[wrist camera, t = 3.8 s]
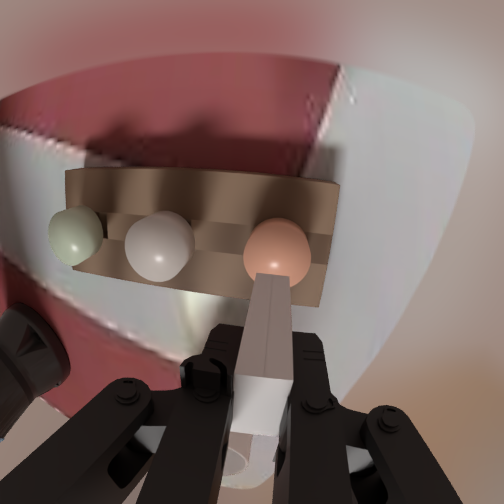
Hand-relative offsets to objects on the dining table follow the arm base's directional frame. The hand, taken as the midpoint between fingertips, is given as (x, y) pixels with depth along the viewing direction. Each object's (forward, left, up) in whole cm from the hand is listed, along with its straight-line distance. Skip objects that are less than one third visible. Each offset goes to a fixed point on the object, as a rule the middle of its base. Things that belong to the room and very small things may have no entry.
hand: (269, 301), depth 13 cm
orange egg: (0, 0, -10) cm, 10 cm away
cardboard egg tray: (-8, 0, -12) cm, 14 cm away
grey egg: (-8, 0, -9) cm, 12 cm away
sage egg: (-16, 0, -8) cm, 18 cm away
